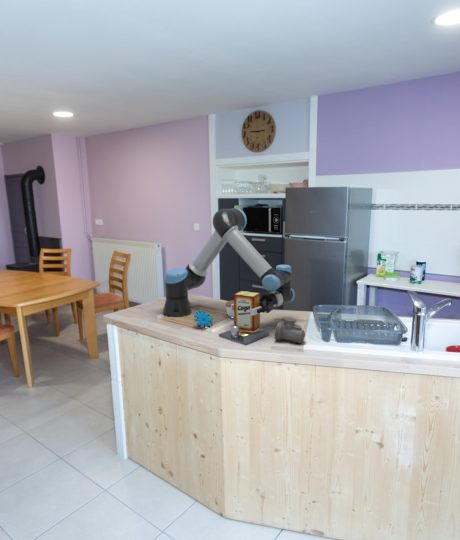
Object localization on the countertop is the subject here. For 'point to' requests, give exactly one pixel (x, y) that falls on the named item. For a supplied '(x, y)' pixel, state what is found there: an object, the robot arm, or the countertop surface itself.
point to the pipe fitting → (289, 331)
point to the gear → (203, 318)
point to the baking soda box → (246, 310)
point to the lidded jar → (229, 308)
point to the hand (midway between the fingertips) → (241, 310)
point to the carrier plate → (244, 335)
